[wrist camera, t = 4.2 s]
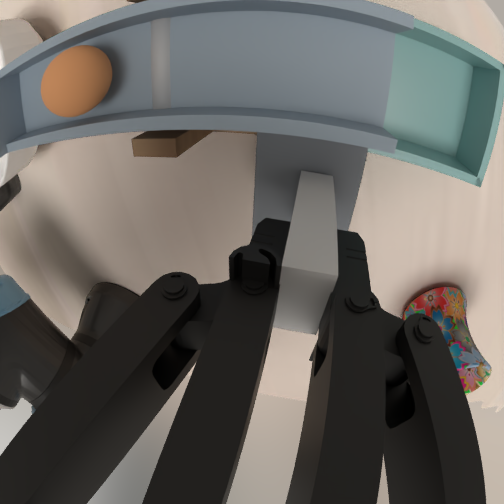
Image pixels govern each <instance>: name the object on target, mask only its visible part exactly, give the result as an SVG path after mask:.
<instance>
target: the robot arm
mask: <svg viewBox="0 0 504 504" xmlns="http://www.w3.org/2000/svg"><path fill="white" fill-rule="evenodd" d="M365 253H366V250H365V244H364V241H363V240H362V238H361V237H360V236H359V234H358V233H355V232H350V231H345V230H339V229H337V221H336V205H335V192H334V180H333V176H330V175H325V174H319V173H313V172H307V171H301V174H300V180H299V185H298V190H297V195H296V200H295V205H294V210H293V215H292V220H291V222H289V221H283V220H277V219H271V218H265V219H263V220H262V221H261V222H260V223H258V224H257V226H256V229H255V231H254V235H253V237H252V239H251V242H250V244H249V245H247V246H242V247H240V248H238V249H236V250H234V251H233V252H232V254H231V255H230V256H229V277H230V279H229V280H227V281H224V282H221V283H215V284H198V282H197V281H196V279H195V278H194V277H193V276H191V275H190V274H187V273H183V272H172V273H169V274H165V275H163V276H162V277H160V278H159V279H157V280H156V281H155V282H154V283H153V284H152V285H151V286H150V287H149V288H148V289H147V290H146V291H145V292H144V293H143V294H142V295H141V296H140V297H138V296H137V295H135V294H134V293H132V292H130V291H128V290H127V289H124V288H122V287H120V286H117V285H114V284H110V283H99V284H97V285H95V286H94V287H93V289H92V290H91V291H90V293H89V294H88V296H87V298H86V301H85V306H84V309H83V311H82V315H81V318H80V322H79V326H78V329H77V331H76V333H75V334H74V336H73V337H72V339H71V340H69V338H67V336H65V334H63V332H61V331H60V329H59V328H58V327H57V326H55V324H53V322H52V321H51V320H50V319H49V318H48V317H47V316H46V315H45V314H44V313H43V312H42V311H41V310H40V308H39V307H38V306H37V305H36V304H35V303H34V302H33V300H32V299H31V298H30V296H29V294H27V293H25V292H24V290H23V289H22V288H21V287H20V286H19V285H18V284H17V282H16V281H15V280H14V279H13V278H12V277H11V276H9V275H5V274H4V275H0V409H1V408H5V409H13V408H14V407H15V406H16V405H17V403H18V402H19V400H20V398H24V399H25V400H27V401H28V402H29V403H31V404H32V415H31V417H30V418H29V419H28V420H27V422H26V423H25V424H24V425H23V427H22V428H21V429H20V431H19V432H18V433H17V434H16V436H15V437H14V438H13V440H12V441H11V442H10V443H9V445H8V446H7V448H6V449H5V450H4V452H3V453H2V454H1V456H0V504H87V503H88V501H89V500H90V499H91V498H92V497H93V495H94V494H95V493H96V492H97V490H98V489H99V488H100V487H101V486H102V484H103V483H104V482H105V481H106V479H107V478H108V477H109V475H110V474H111V473H112V472H113V470H114V469H115V468H116V467H117V465H118V464H119V463H120V462H121V460H122V459H123V458H124V457H125V455H126V454H127V453H128V451H129V450H130V449H131V448H132V446H133V445H134V444H135V442H136V441H137V440H138V439H139V437H140V436H141V435H142V433H143V432H144V431H145V429H146V428H147V427H148V425H149V424H150V423H151V422H152V420H153V419H154V417H155V416H156V415H157V414H158V412H159V411H160V410H161V408H162V407H163V406H164V404H165V403H166V402H167V400H168V399H169V398H170V396H171V395H172V394H173V392H174V391H175V390H176V388H177V387H178V386H179V384H180V383H181V382H182V380H183V379H184V378H185V376H186V375H187V374H188V372H189V371H190V370H191V368H192V367H193V366H194V364H195V363H196V365H195V367H194V370H193V373H192V375H191V378H190V380H189V383H188V385H187V388H186V390H185V393H184V395H183V398H182V400H181V403H180V406H179V408H178V411H177V413H176V416H175V419H174V421H173V424H172V426H171V429H170V431H169V434H168V437H167V439H166V442H165V444H164V447H163V450H162V452H161V455H160V457H159V460H158V463H157V465H156V468H155V471H154V473H153V476H152V479H151V481H150V484H149V487H148V489H147V492H146V495H145V497H144V500H143V503H142V504H226V502H227V499H228V496H229V493H230V489H231V486H232V483H233V479H234V476H235V473H236V469H237V466H238V462H239V459H240V455H241V452H242V448H243V444H244V441H245V438H246V434H247V430H248V426H249V423H250V419H251V415H252V412H253V408H254V404H255V400H256V396H257V392H258V388H259V384H260V380H261V376H262V372H263V368H264V364H265V359H266V355H267V351H268V347H269V342H270V337H271V332H272V327H275V328H280V329H286V330H291V331H297V332H303V333H309V334H315V335H316V334H317V331H318V329H319V334H318V340H317V343H316V345H315V347H314V349H313V352H312V354H311V356H310V359H309V361H312V360H313V362H312V369H311V377H310V384H309V391H308V397H307V403H306V410H305V416H304V421H303V427H302V432H301V438H300V443H299V448H298V453H297V458H296V462H295V467H294V471H293V475H292V480H291V484H290V488H289V492H288V496H287V500H286V504H376V503H377V497H378V491H379V484H380V478H381V469H382V460H383V455H384V461H385V468H386V476H387V484H388V494H389V504H486V495H485V483H484V475H483V468H482V461H481V456H480V450H479V445H478V440H477V435H476V431H475V427H474V423H473V419H472V415H471V411H470V408H469V405H468V401H467V398H466V395H465V391H464V388H463V385H462V382H461V379H460V376H459V374H458V371H457V368H456V365H455V363H454V360H453V357H452V355H451V352H450V350H449V347H448V345H447V343H446V340H445V338H444V335H443V333H442V331H441V329H440V327H439V326H438V324H437V322H436V321H434V320H433V319H432V318H431V317H429V316H427V315H425V314H422V313H415V314H412V315H410V316H409V317H408V318H407V319H406V320H403V319H401V318H398V317H396V316H394V315H392V314H390V313H388V312H386V311H384V310H383V309H382V308H381V307H380V304H379V301H378V299H377V297H376V296H375V295H374V294H373V293H372V292H371V287H370V279H369V271H368V264H367V257H366V254H365ZM196 361H197V362H196Z"/></svg>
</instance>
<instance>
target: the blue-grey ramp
mask: <svg viewBox="0 0 504 504" xmlns="http://www.w3.org/2000/svg"><path fill="white" fill-rule="evenodd" d="M413 29H414V16H412V15H410V14H407V13H404V12H402V11H399V10H396V9H393V8H390V7H386V6H383V5H380V4H376V3H373V2H369V1H365V0H146V1H143V2H139V3H135V4H132V5H129V6H125V7H122V8H119V9H116V10H113V11H110V12H107V13H105V14H102V15H99V16H97V17H94V18H92V19H89V20H87V21H84V22H82V23H80V24H78V25H75V26H73V27H71V28H69V29H67V30H65V31H63V32H61V33H59V34H57V35H55V36H53V37H51V38H49V39H47V40H46V41H44V42H42V43H40V44H39V45H37V46H35V47H33V48H32V49H30V50H29V51H27V52H25V53H24V54H22V55H21V56H19V57H18V58H16V59H15V60H13V61H12V62H10V63H9V64H7V65H6V66H5V67H3V68H2V69H1V70H0V158H1V157H2V156H4V155H5V154H7V153H9V152H12V151H16V150H20V149H24V148H28V147H33V146H37V145H42V144H47V143H52V142H57V141H63V140H68V139H75V138H81V137H88V136H96V135H104V134H113V133H124V132H137V131H154V130H232V131H249V132H257V147H256V167H255V188H254V209H253V230H252V237H253V235H254V231H255V229H256V226H257V224H258V223H260V222H261V221H262V220H263V219H265V218H271V219H277V220H283V221H289V222H291V220H292V215H293V210H294V205H295V200H296V195H297V190H298V185H299V180H300V174H301V171H307V172H313V173H319V174H325V175H330V176H333V180H334V192H335V205H336V221H337V229H339V230H345V231H348V229H349V225H350V222H351V218H352V214H353V211H354V207H355V203H356V199H357V195H358V191H359V187H360V183H361V179H362V174H363V170H364V166H365V161H366V156H367V152H368V148H370V149H375V150H379V151H384V152H388V153H392V154H395V150H396V145H397V141H398V140H397V139H396V138H395V137H394V136H393V135H391V134H390V133H389V132H388V131H386V130H385V129H384V128H383V125H384V120H385V114H386V108H387V102H388V96H389V89H390V82H391V74H392V66H393V57H394V46H395V34H396V33H400V32H404V31H408V30H413ZM80 45H90V46H94V47H96V48H99V49H100V50H102V51H103V52H104V53H105V54H106V55H107V56H108V58H109V60H110V62H111V66H112V81H111V85H110V88H109V90H108V92H107V94H106V95H105V97H104V98H103V99H102V101H101V102H100V103H99V104H98V105H97V106H96V107H94V108H93V109H92V110H90V111H89V112H87V113H85V114H82V115H79V116H76V117H61V116H58V115H56V114H54V113H52V112H51V111H50V110H49V109H48V108H47V107H46V106H45V104H44V102H43V100H42V96H41V81H42V77H43V75H44V72H45V70H46V69H47V67H48V65H49V64H50V63H51V61H52V60H53V59H54V58H55V57H56V56H58V55H59V54H60V53H62V52H63V51H65V50H67V49H69V48H71V47H74V46H80Z"/></svg>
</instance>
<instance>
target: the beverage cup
mask: <svg viewBox="0 0 504 504" xmlns="http://www.w3.org/2000/svg"><path fill="white" fill-rule="evenodd" d="M20 190H21V184H20V180H19V177H18V175H17V174H16V175H15V176H14V177H13V178H12V179H10V180H9V181H8V182H6V183H5V184H4V185H2V186H1V187H0V211H1V210H2V209H3V208H4V207H5V206H6V205H7V204H8V203H9V202H10V201H11V200H12V199H13V198H14V197H15V196H16V195H17V194H18V193H19V192H20Z"/></svg>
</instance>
